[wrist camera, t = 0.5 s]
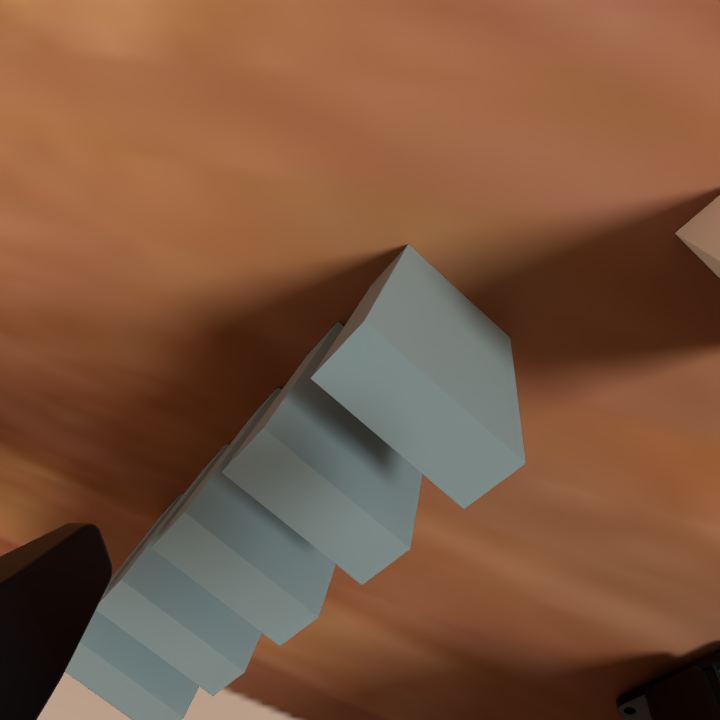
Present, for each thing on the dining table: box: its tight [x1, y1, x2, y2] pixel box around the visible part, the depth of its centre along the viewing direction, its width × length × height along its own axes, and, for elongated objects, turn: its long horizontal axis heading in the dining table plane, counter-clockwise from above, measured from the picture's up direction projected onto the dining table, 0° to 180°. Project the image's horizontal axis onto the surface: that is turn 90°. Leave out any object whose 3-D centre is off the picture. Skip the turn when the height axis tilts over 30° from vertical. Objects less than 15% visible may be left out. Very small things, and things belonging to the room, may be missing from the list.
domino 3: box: [151, 387, 336, 646], centre depth 20 cm, size 2×5×8 cm, turn 49°
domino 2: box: [96, 444, 262, 696], centre depth 22 cm, size 2×5×8 cm, turn 50°
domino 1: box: [65, 493, 199, 720], centre depth 23 cm, size 2×5×8 cm, turn 50°
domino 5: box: [311, 244, 525, 509], centre depth 17 cm, size 2×5×8 cm, turn 49°
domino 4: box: [222, 322, 423, 585], centre depth 18 cm, size 2×5×8 cm, turn 50°
